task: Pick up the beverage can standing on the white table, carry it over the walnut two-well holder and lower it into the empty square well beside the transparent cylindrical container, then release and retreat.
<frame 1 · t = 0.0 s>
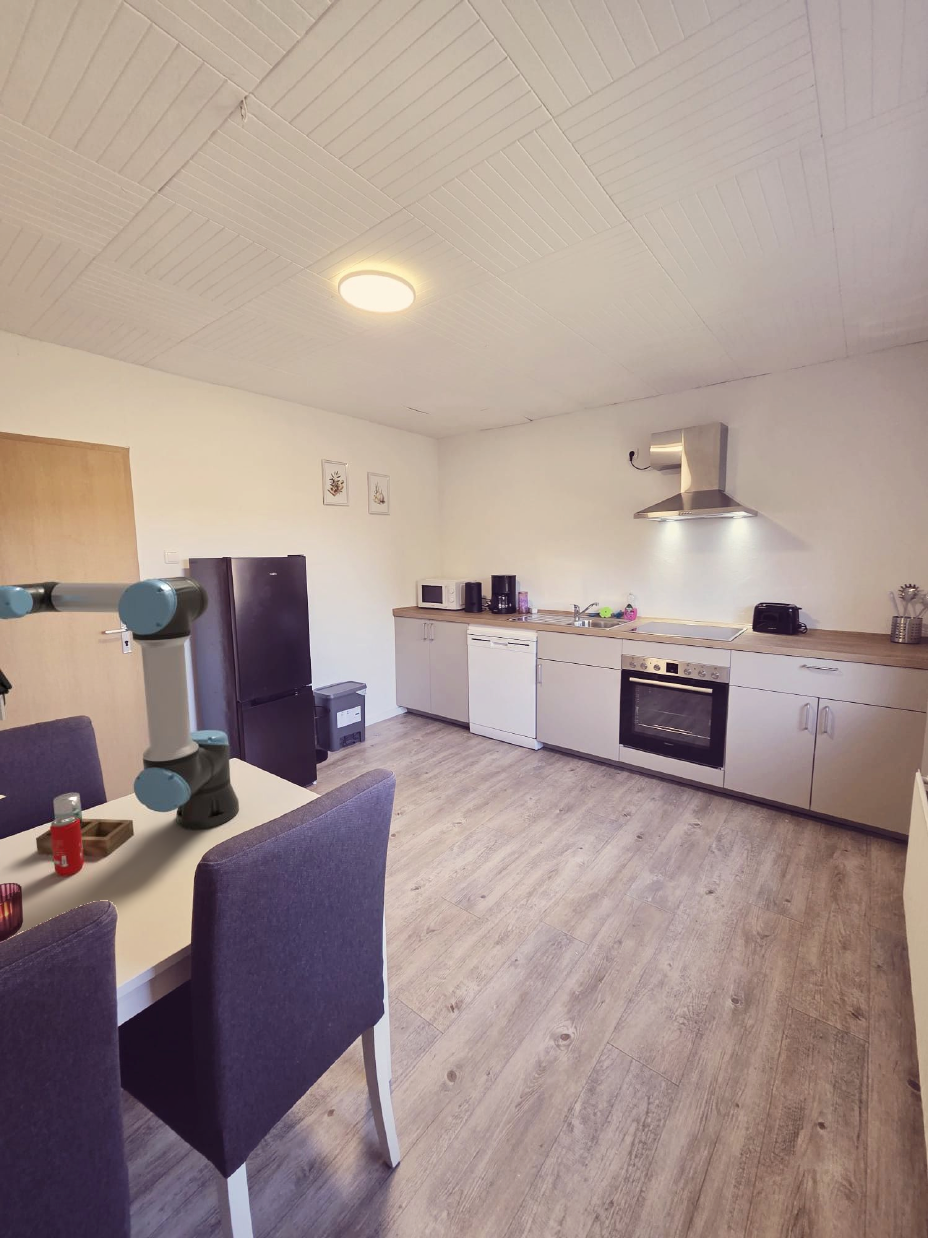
transparent cylindrical container: (71, 843, 125), resting in holder
holder: (87, 844, 124), on the table
beverage can: (70, 871, 114), on the table
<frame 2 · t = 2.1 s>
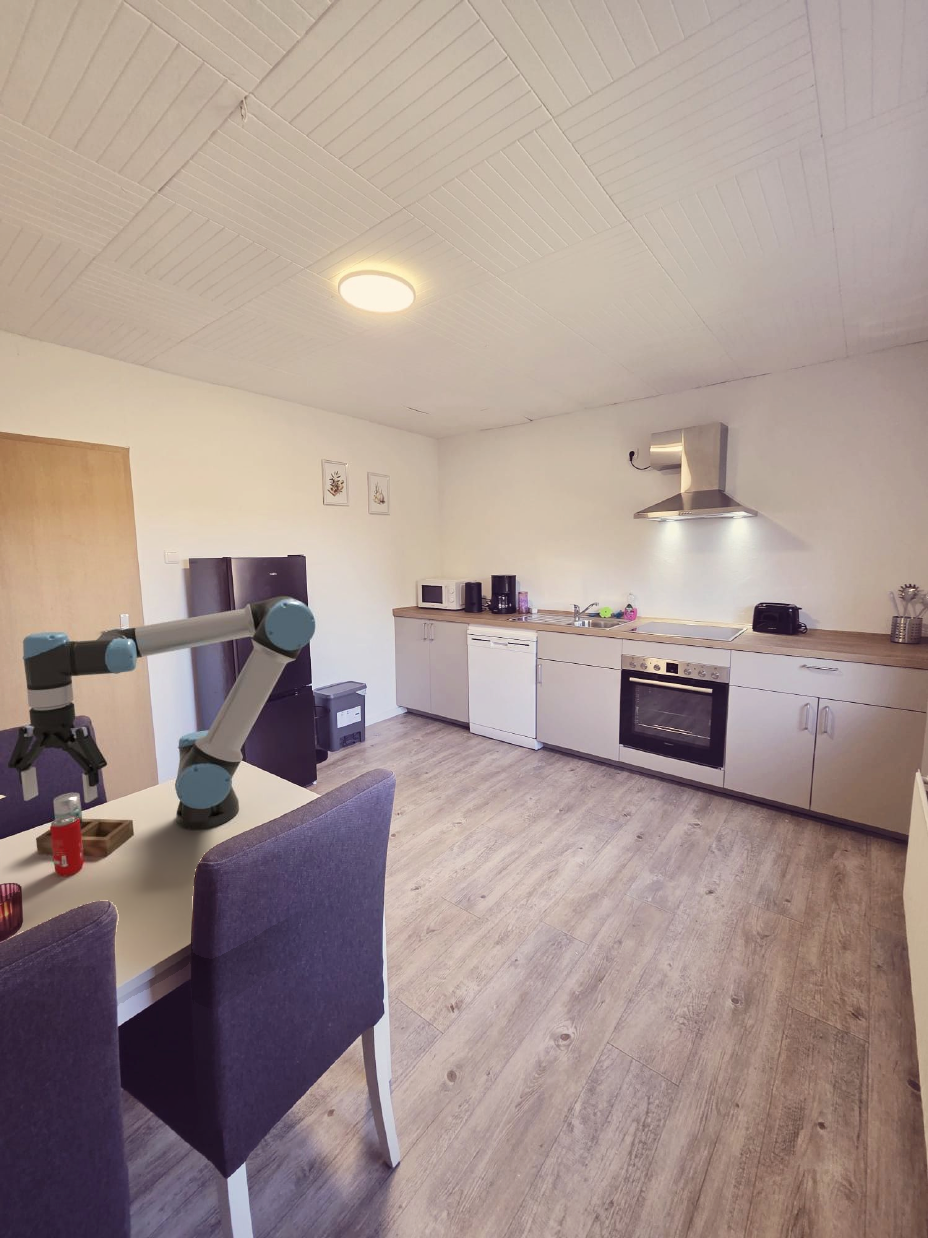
hand: (61, 798, 112), 17 cm above the table, fingers open, 13 cm apart
nothing on the table moved.
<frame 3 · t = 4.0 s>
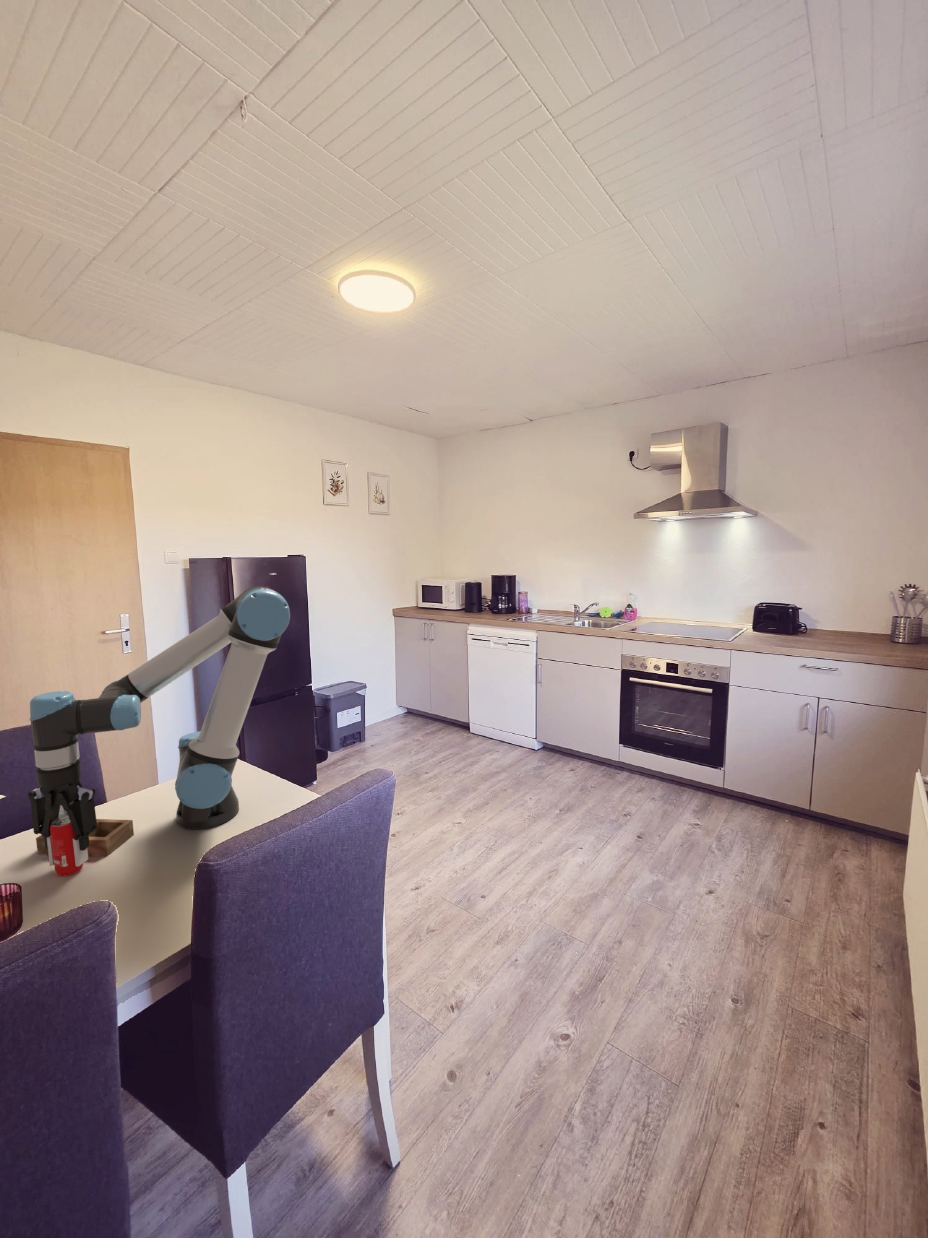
hand: (69, 862, 114), 2 cm above the table, fingers closed on beverage can, 5 cm apart
beverage can: (70, 871, 114), on the table, touching gripper
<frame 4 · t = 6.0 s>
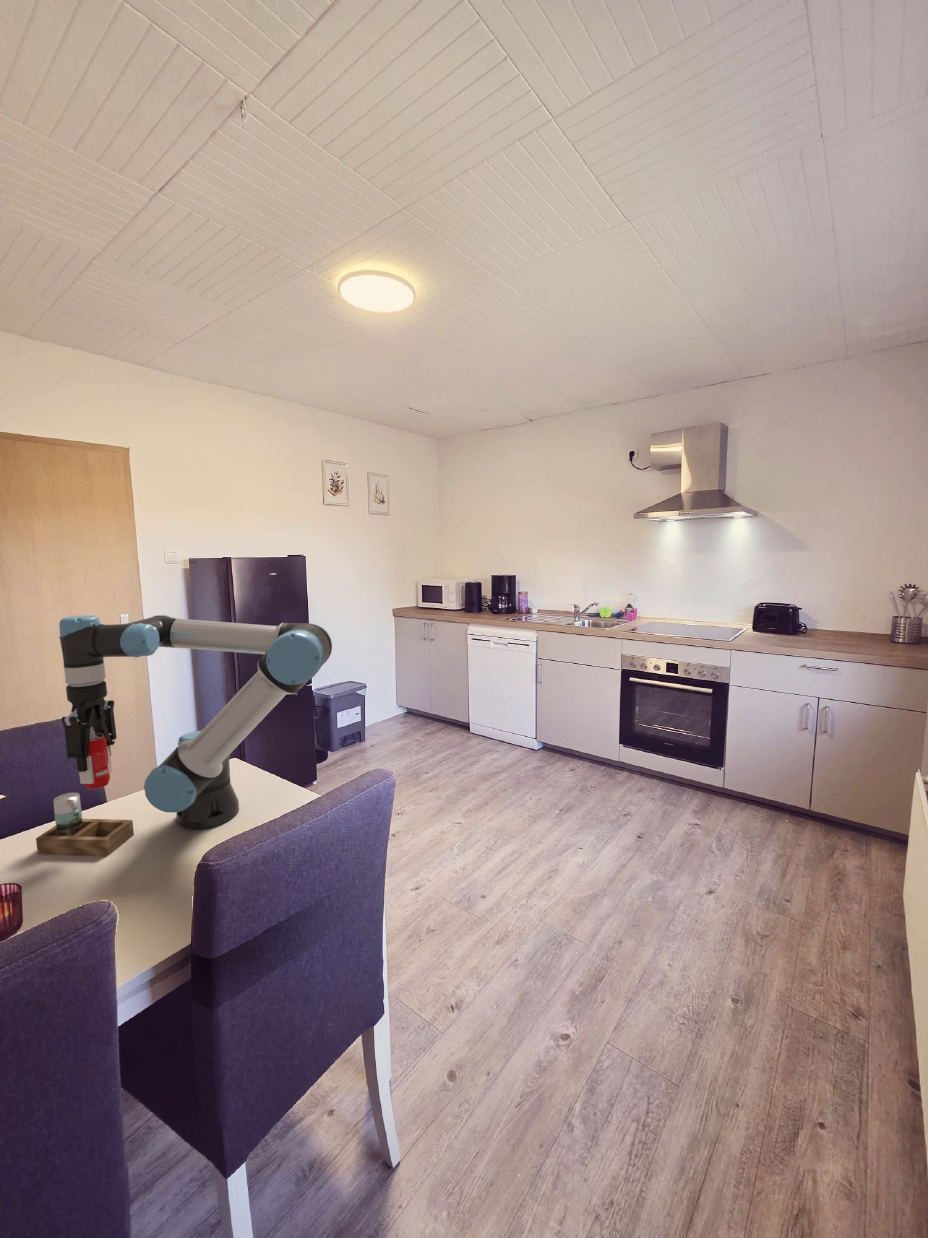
hand: (96, 777, 121), 18 cm above the table, fingers closed on beverage can, 5 cm apart
beverage can: (97, 786, 122), point 15 cm above the table, touching gripper
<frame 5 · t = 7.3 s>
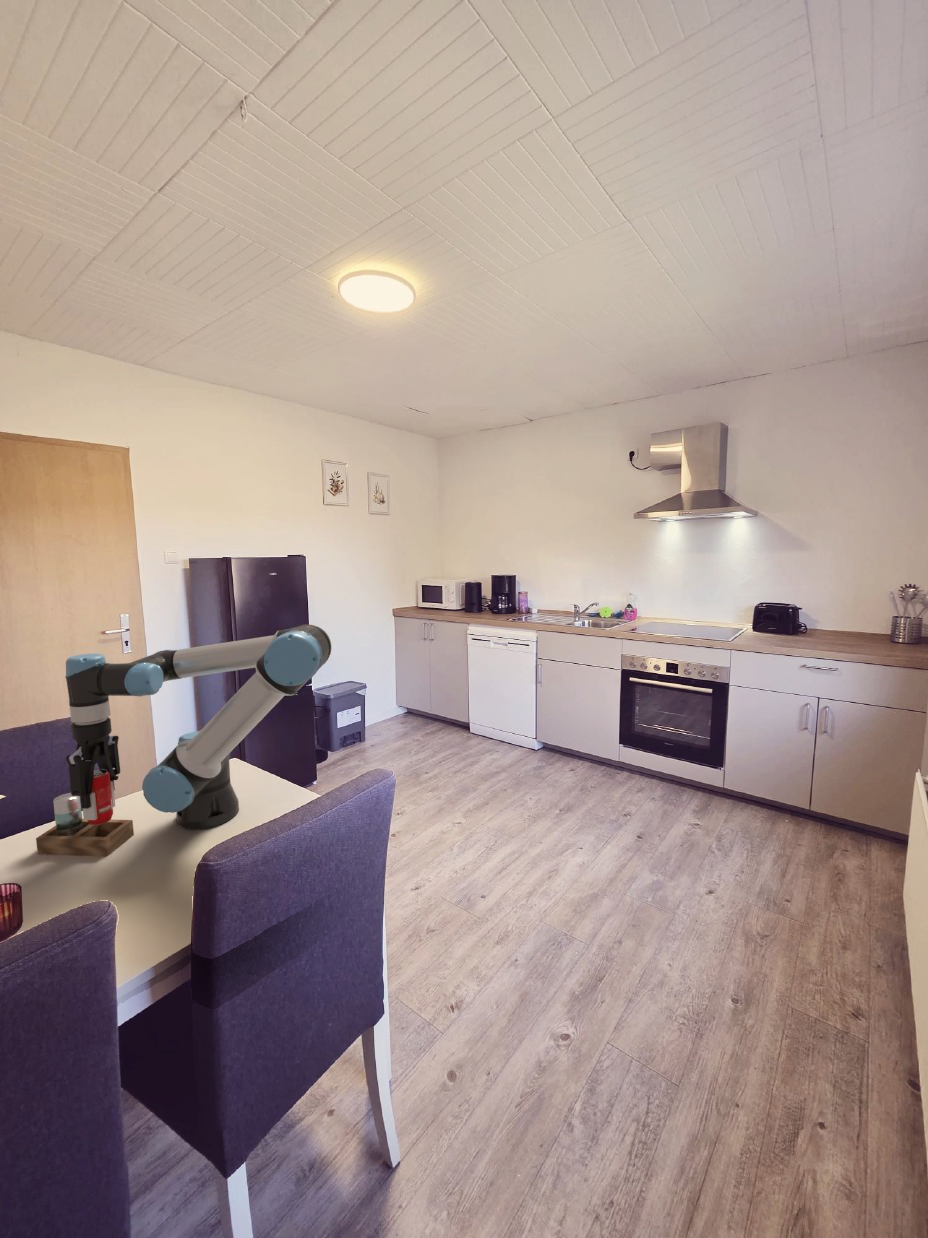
hand: (100, 812, 123), 8 cm above the table, fingers closed on beverage can, 5 cm apart
beverage can: (100, 821, 123), point 6 cm above the table, touching gripper
when the fingers open (5 cm above the table, at t = 8.2 s): beverage can drops 3 cm, resting in holder.
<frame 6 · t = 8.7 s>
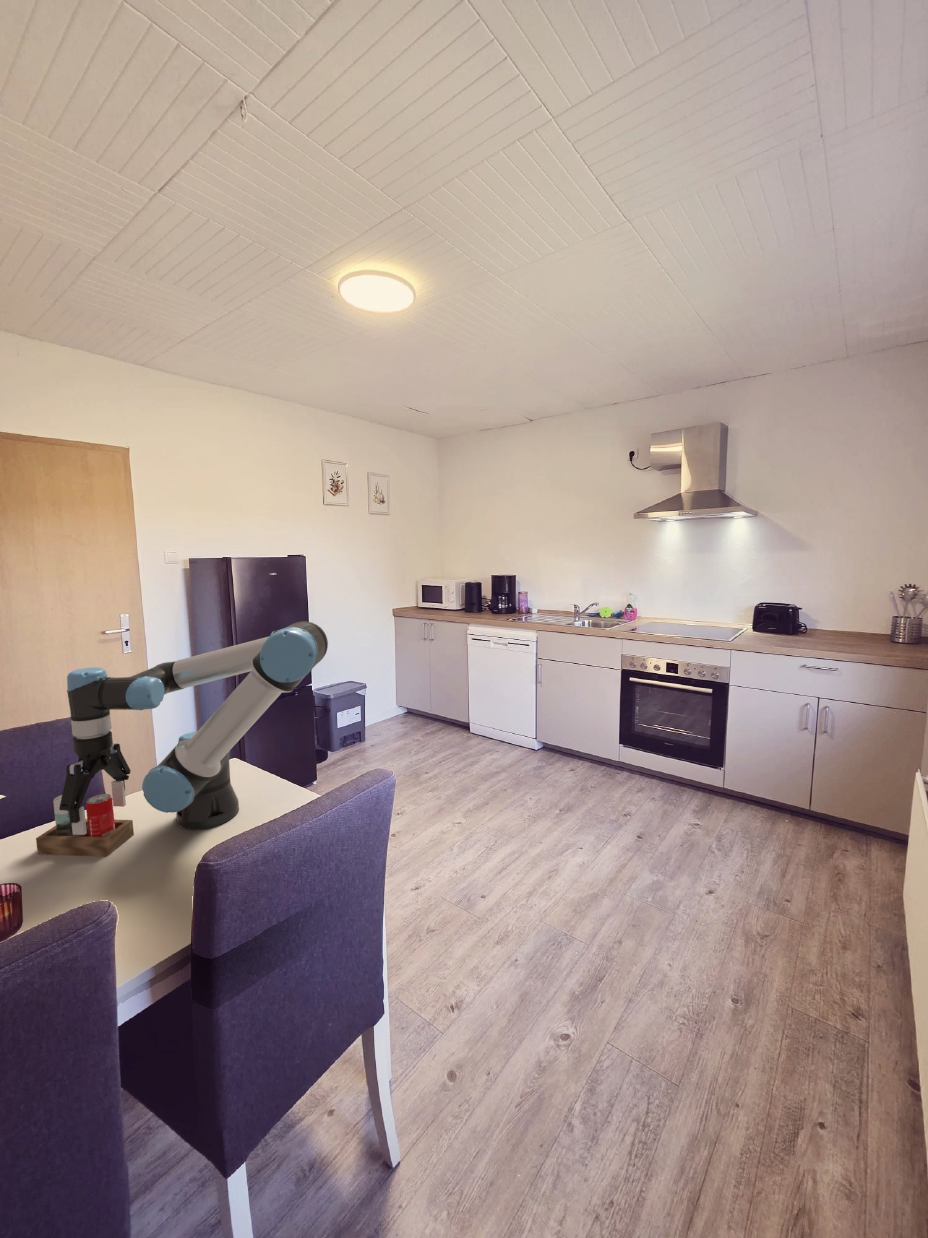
hand: (100, 819, 123), 7 cm above the table, fingers open, 12 cm apart
beverage can: (103, 845, 124), resting in holder
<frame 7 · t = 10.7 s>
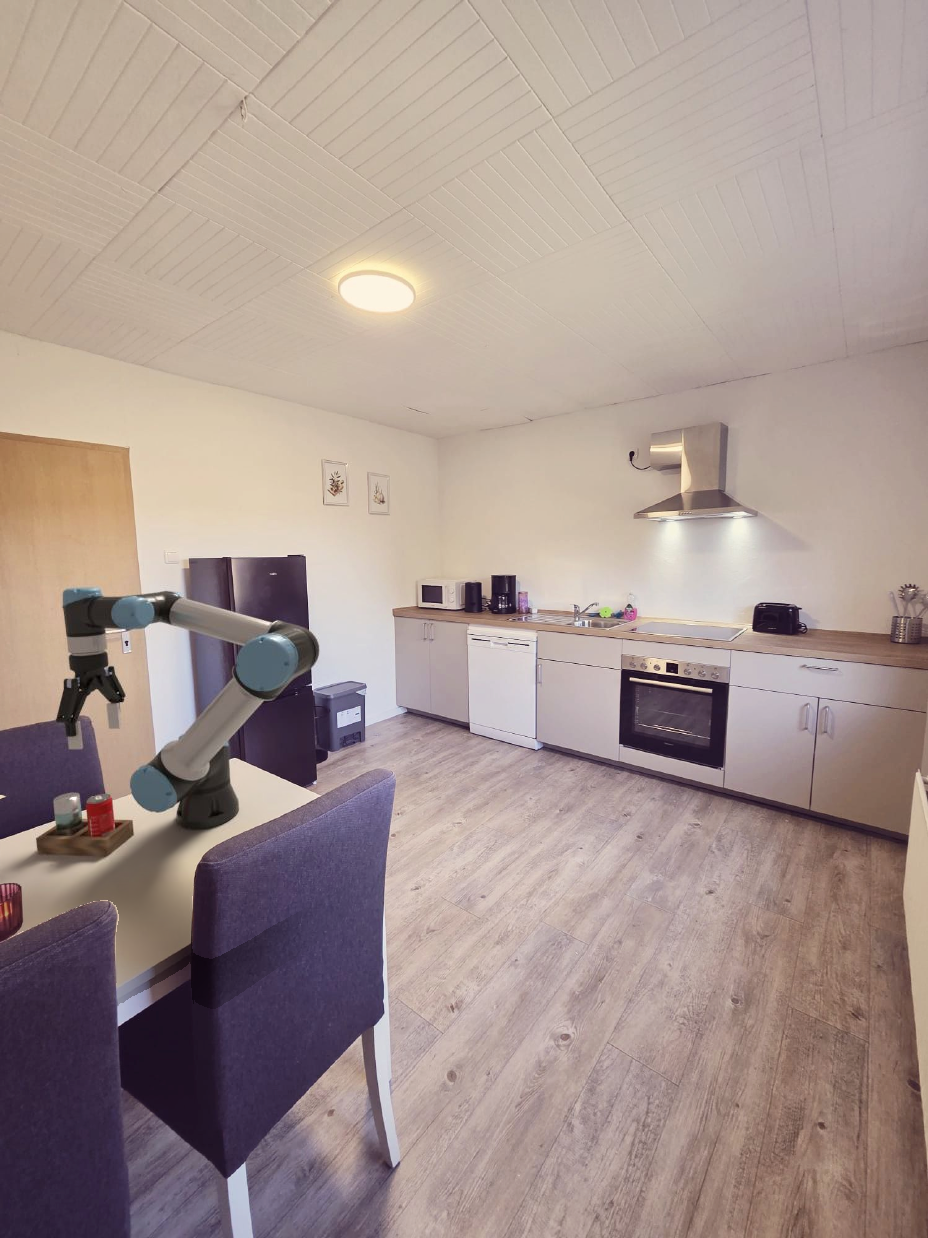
hand: (96, 738, 124), 26 cm above the table, fingers open, 13 cm apart
nothing on the table moved.
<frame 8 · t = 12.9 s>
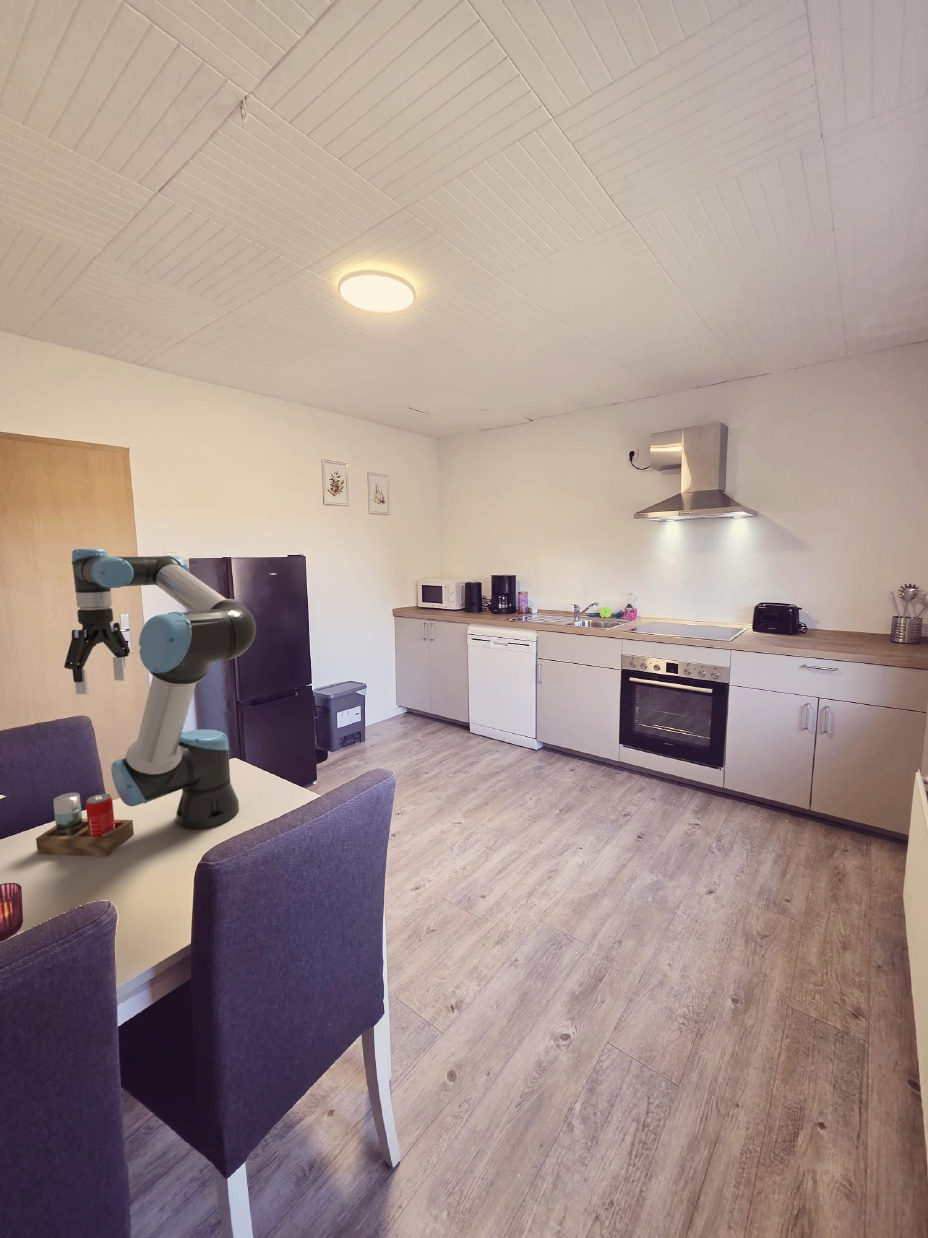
hand: (102, 686, 137), 35 cm above the table, fingers open, 13 cm apart
nothing on the table moved.
at the end: beverage can 0.0 cm from the target spot on the holder, point 0.0 cm above the holder's base; beverage can tilted 0°; the gripper is holding nothing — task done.
